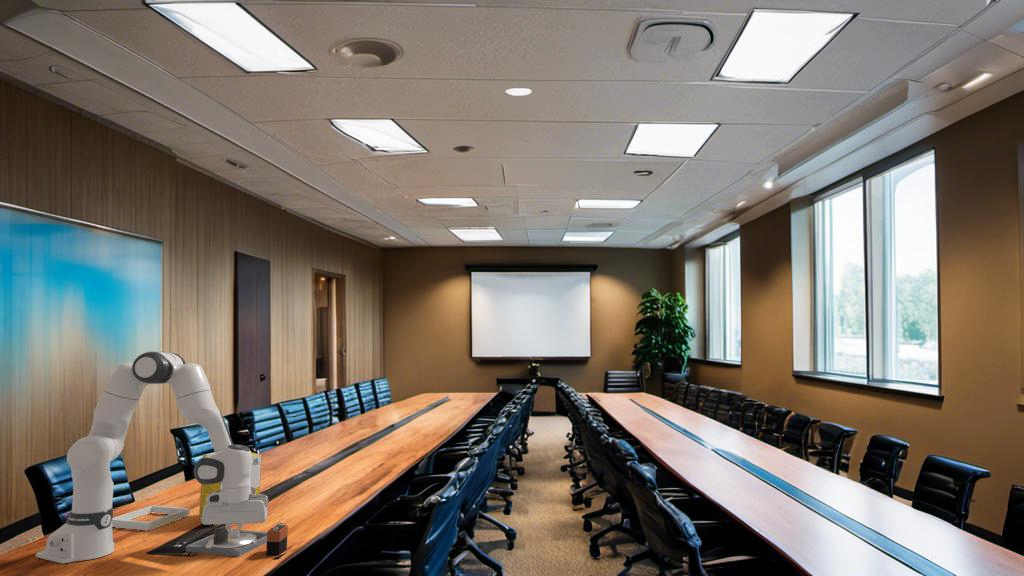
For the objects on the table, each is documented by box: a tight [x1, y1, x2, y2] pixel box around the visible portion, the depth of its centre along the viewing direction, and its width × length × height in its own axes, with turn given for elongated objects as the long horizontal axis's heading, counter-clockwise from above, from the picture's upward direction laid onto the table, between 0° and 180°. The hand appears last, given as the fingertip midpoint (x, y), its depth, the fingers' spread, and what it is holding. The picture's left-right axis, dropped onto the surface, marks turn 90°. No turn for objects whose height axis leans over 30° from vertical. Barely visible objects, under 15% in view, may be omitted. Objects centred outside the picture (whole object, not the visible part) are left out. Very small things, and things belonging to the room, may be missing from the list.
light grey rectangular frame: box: [111, 505, 191, 531], centre depth 236 cm, size 18×21×3 cm
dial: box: [208, 525, 257, 549], centre depth 207 cm, size 15×15×7 cm
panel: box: [185, 528, 267, 558], centre depth 207 cm, size 20×20×4 cm
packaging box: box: [198, 451, 263, 527], centre depth 243 cm, size 16×16×25 cm
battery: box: [265, 522, 289, 560], centre depth 200 cm, size 4×7×10 cm, turn 178°
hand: (233, 537), depth 202 cm, fingers closed
